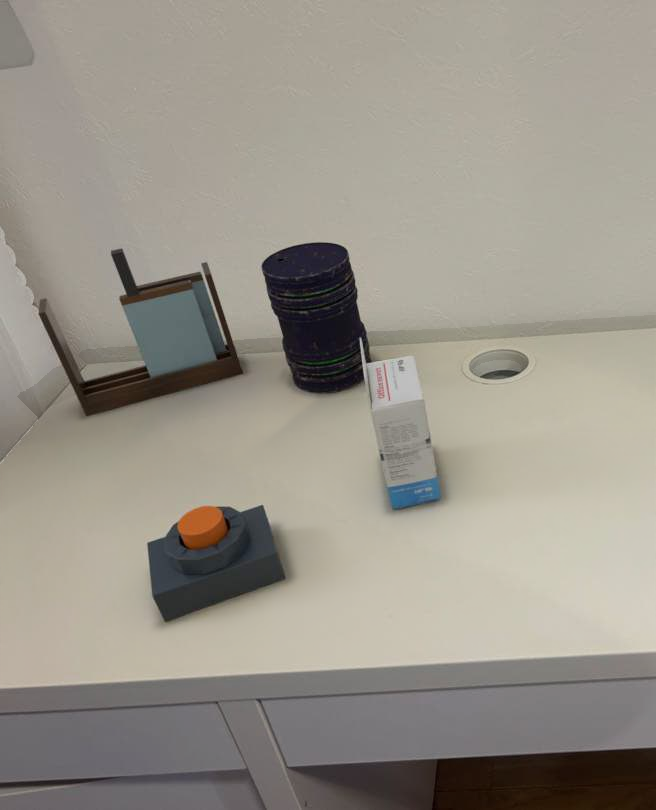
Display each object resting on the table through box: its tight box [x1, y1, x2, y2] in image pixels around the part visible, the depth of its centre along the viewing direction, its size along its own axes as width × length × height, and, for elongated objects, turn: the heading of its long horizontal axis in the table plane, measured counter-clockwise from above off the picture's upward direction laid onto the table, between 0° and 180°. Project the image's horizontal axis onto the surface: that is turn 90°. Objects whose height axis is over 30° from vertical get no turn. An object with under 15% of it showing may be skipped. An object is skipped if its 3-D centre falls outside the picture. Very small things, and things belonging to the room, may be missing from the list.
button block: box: [146, 504, 287, 623], centre depth 69 cm, size 10×7×5 cm
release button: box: [177, 505, 228, 549], centre depth 67 cm, size 4×4×2 cm
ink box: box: [360, 337, 441, 510], centre depth 75 cm, size 8×5×15 cm, turn 14°
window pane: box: [110, 248, 217, 378], centre depth 92 cm, size 8×1×16 cm, turn 116°
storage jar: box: [260, 241, 373, 395], centre depth 94 cm, size 10×10×15 cm
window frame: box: [37, 261, 244, 417], centre depth 94 cm, size 18×4×14 cm, turn 116°
